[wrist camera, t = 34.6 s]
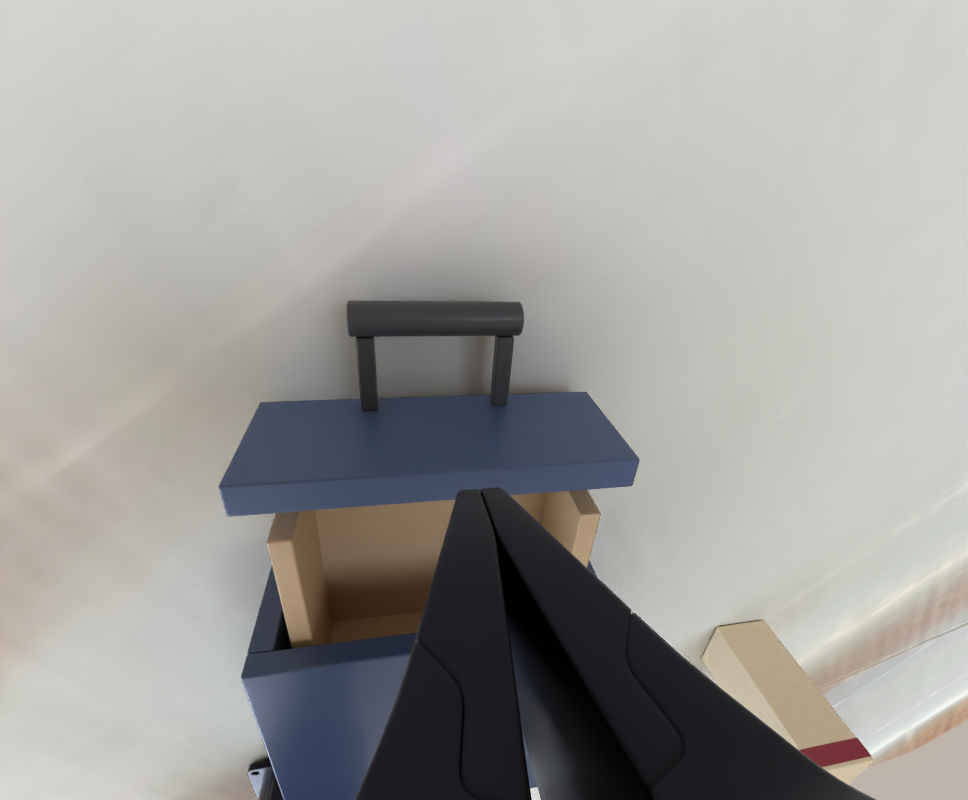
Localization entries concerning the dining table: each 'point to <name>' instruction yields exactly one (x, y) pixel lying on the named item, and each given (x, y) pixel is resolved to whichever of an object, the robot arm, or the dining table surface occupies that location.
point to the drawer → (411, 475)
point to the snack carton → (783, 696)
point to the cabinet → (323, 703)
